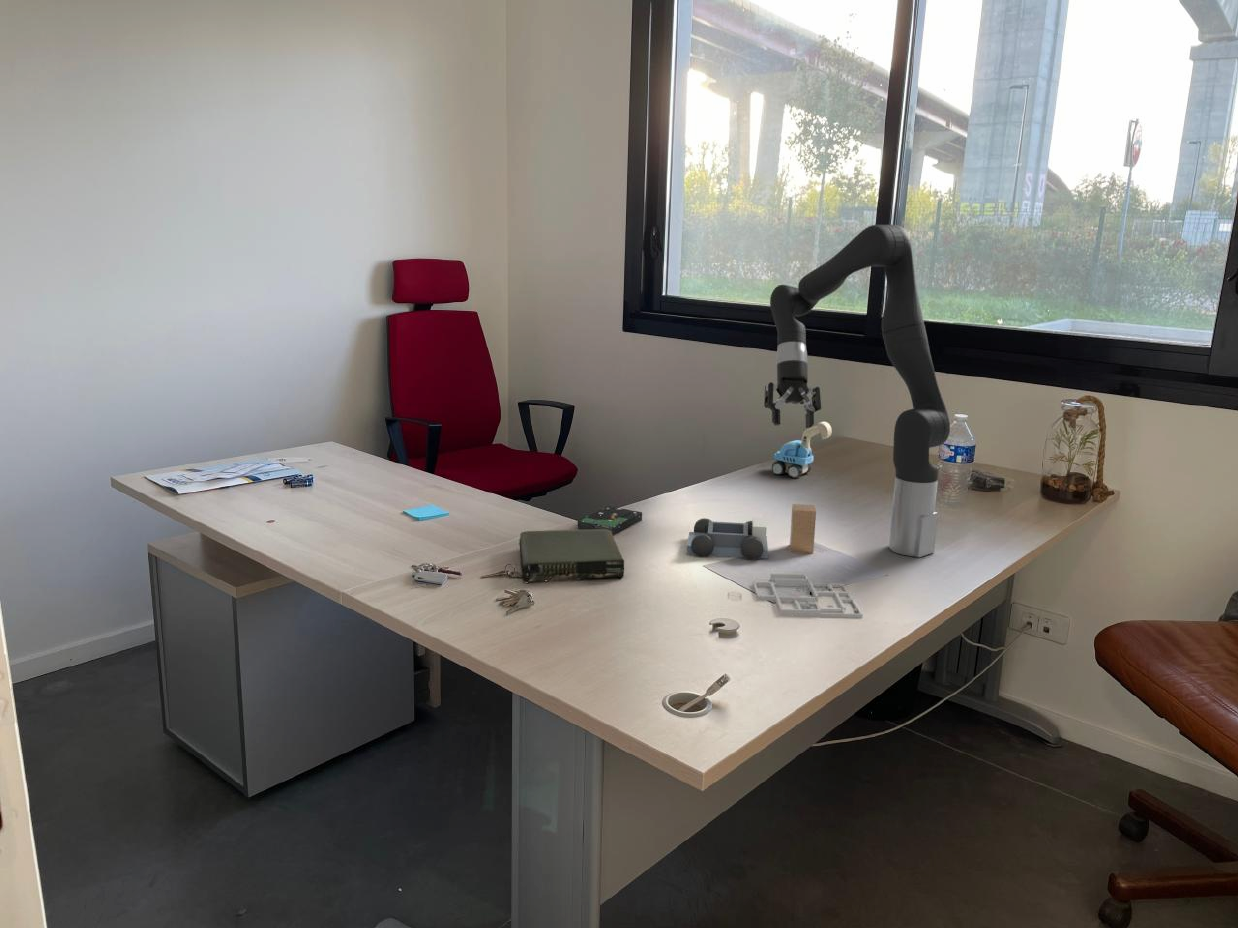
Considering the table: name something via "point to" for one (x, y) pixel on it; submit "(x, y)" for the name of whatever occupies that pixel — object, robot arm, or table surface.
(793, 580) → the floor plan model
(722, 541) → the chassis
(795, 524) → the brown rectangular block
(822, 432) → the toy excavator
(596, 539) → the network switch
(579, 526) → the disk drive
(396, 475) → the table surface
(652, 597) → the table surface
